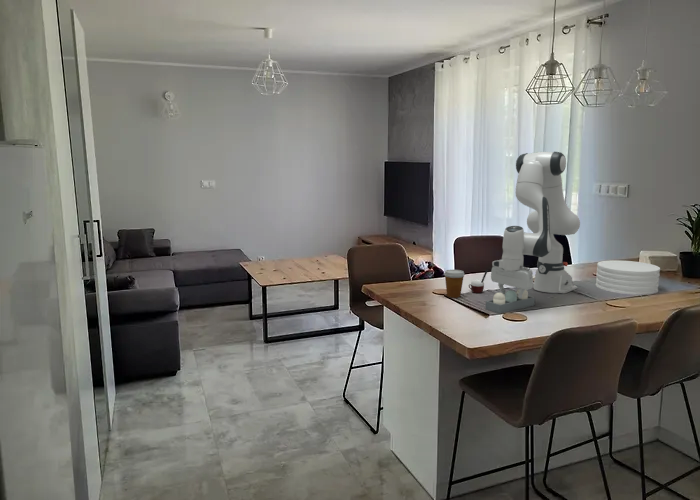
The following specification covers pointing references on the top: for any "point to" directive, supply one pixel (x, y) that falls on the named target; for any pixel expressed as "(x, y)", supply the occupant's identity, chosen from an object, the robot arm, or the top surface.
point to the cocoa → (478, 284)
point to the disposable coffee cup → (454, 282)
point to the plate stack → (627, 277)
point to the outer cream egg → (499, 298)
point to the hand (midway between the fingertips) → (510, 295)
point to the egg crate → (510, 305)
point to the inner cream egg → (525, 294)
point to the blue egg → (511, 296)
